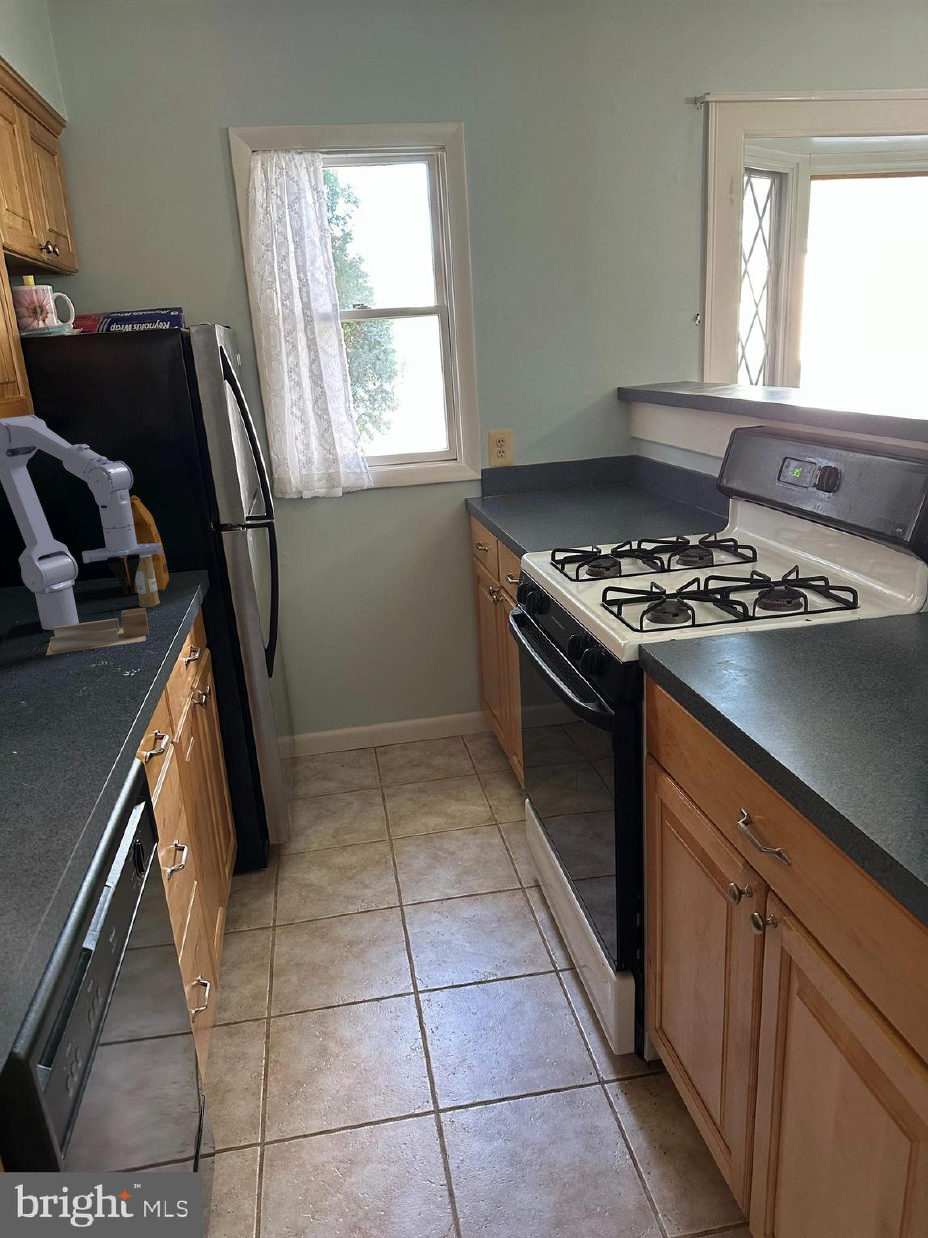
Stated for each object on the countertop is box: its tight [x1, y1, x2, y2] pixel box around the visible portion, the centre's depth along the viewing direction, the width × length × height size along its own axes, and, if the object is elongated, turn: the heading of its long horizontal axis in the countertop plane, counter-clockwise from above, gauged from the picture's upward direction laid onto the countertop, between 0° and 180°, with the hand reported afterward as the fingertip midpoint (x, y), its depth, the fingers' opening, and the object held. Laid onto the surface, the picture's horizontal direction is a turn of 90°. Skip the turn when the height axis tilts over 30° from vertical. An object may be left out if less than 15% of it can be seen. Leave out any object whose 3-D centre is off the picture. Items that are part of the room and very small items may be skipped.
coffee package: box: [123, 495, 170, 594], centre depth 215 cm, size 10×12×22 cm
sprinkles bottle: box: [132, 553, 161, 608], centre depth 200 cm, size 5×5×14 cm
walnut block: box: [120, 607, 150, 638], centre depth 178 cm, size 4×4×4 cm
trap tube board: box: [45, 618, 147, 656], centre depth 176 cm, size 12×18×4 cm, turn 110°
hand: (129, 593), depth 176 cm, fingers closed
